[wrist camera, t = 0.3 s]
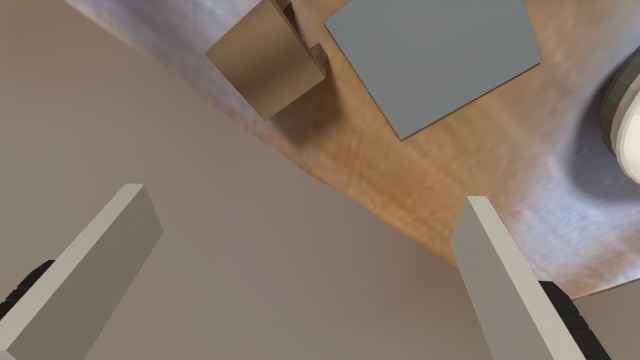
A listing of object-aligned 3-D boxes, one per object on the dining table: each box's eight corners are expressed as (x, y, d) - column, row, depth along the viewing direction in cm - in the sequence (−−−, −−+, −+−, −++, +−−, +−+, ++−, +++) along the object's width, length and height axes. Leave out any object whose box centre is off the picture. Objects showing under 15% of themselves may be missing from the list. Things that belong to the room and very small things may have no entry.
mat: (323, 21, 31) (323, 22, 30) (486, -110, 25) (488, -110, 24) (400, 138, 38) (400, 140, 38) (540, 60, 32) (542, 61, 32)
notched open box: (229, 34, 32) (204, 53, 26) (280, -14, 29) (266, -4, 23) (277, 92, 35) (265, 121, 29) (327, 54, 33) (325, 78, 27)
